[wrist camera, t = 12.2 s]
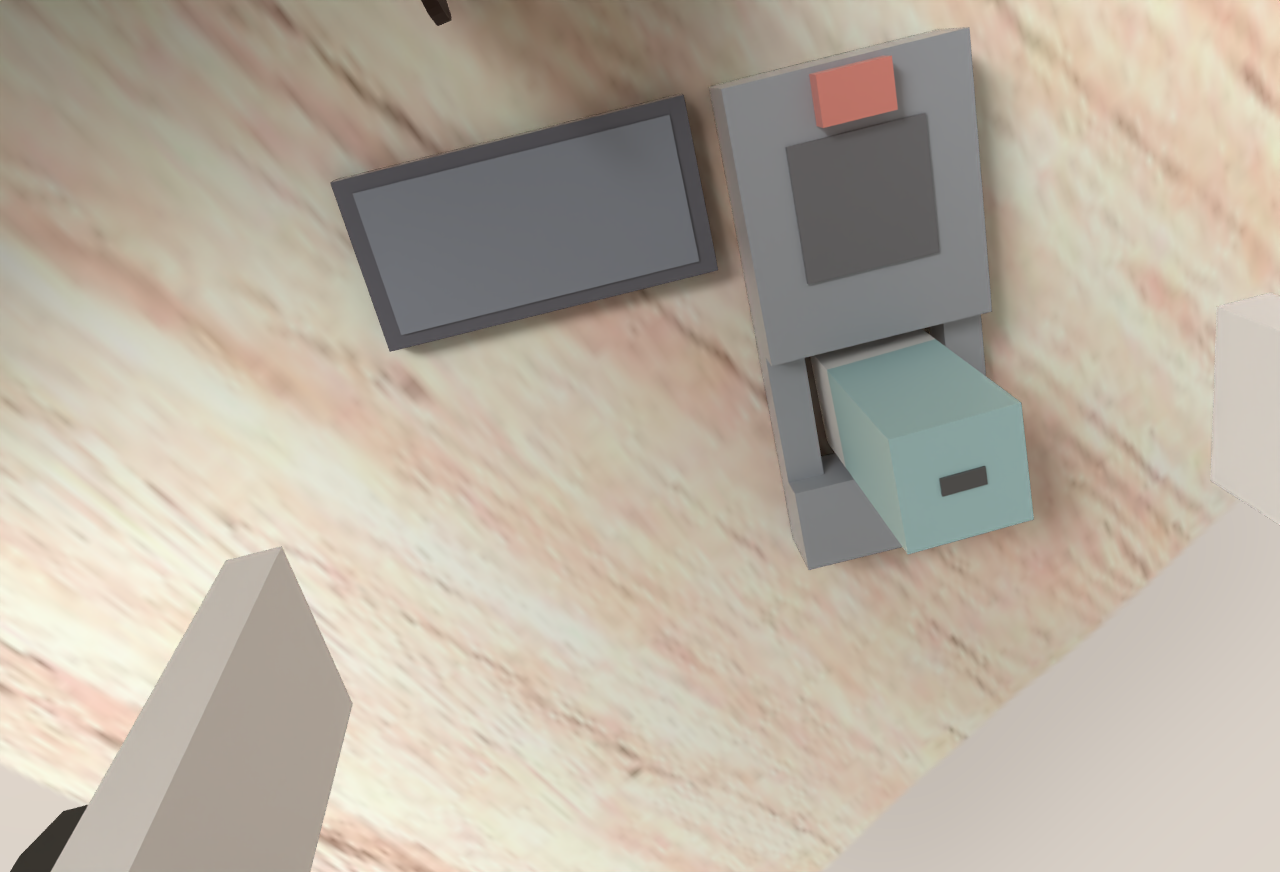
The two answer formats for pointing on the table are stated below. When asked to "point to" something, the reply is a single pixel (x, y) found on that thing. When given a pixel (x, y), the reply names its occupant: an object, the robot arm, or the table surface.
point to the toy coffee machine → (853, 239)
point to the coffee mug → (438, 11)
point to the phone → (530, 222)
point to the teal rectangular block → (925, 438)
